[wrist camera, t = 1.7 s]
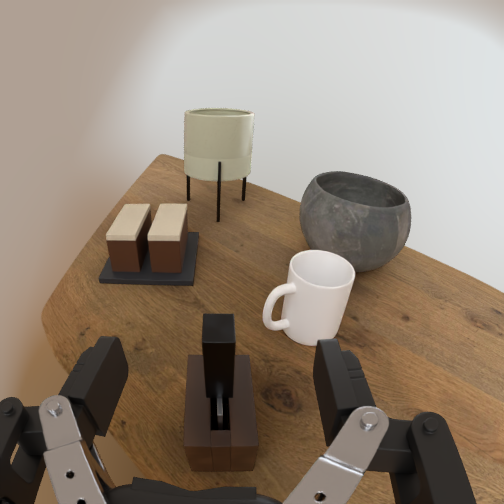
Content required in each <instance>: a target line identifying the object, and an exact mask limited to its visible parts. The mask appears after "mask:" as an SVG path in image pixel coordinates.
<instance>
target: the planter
mask: <svg viewBox="0 0 504 504" xmlns="http://www.w3.org/2000/svg"><path fill="white" fill-rule="evenodd" d="M184 120H185V121H184V122H185V123H184V172H185V174H186V175H187V201H189V200H190V177H192V178H195V179H200V180H206V181H217V222H220V190H221V181H231V180H237V179H241V178H243V185H242V200H243V201H244V200H245V191H246V176H248V175H249V174H250V169H251V155H252V140H253V128H254V113H253V112H250V111H245V110H239V109H228V108H205V109H204V108H203V109H193V110H188V111H186V112H185V119H184Z"/></svg>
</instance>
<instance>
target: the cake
mask: <svg viewBox="0 0 504 504" xmlns="http://www.w3.org/2000/svg"><path fill="white" fill-rule="evenodd" d="M198 239H199V232H188V227H187V204H160V206H159V208H158V211H157V213H156V216H155V218H154V220H153V223H151V211H150V204H125V205H124V207H123V208H122V210H121V211H120V213H119V214H118V216H117V217H116V219H115V221H114V222H113V224H112V226H111V227H110V229H109V230H108V232H107V234H106V240H107V246H108V251H109V258H108V260H107V262H106V264H105V266H104V268H103V270H102V272H101V274H100V276H99V282H100V283H113V284H144V285H187V286H193V282H194V273H195V264H196V255H197V247H198Z"/></svg>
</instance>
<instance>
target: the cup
mask: <svg viewBox="0 0 504 504" xmlns="http://www.w3.org/2000/svg"><path fill="white" fill-rule="evenodd" d="M354 278H355V271H354V268H353V266H352V265H351V264H350V263H349V262H348V261H347V260H346V259H344V258H343V257H341V256H339V255H337V254H334V253H331V252H327V251H322V250H307V251H303V252H300V253H298V254H296V255H295V256H293V258H292V259H291V261H290V266H289V272H288V278H287V284H283V285H280V286H278V287H276V288H275V289H274V290H273V291H272V292H271V293H270V294H269V296H268V298H267V300H266V302H265V305H264V310H263V322H264V325H265V326H266V327H267V328H268V329H270V330H282V329H283V330H284V332H285V333H286V334H287V336H288V337H289V338H291V339H292V340H294V341H295V342H297V343H300V344H303V345H308V346H316V345H317V341H318V340H321V339H333V338H334V336H335V335H336V333H337V331H338V329H339V326H340V323H341V320H342V317H343V314H344V311H345V308H346V304H347V301H348V298H349V295H350V292H351V288H352V285H353V282H354ZM283 295H285V297H284V303H283V309H282V315H281V320H279V321H272V319H271V314H272V310H273V307H274V304H275V302H276V301H277V299H278V298H279V297H280V296H283Z"/></svg>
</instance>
